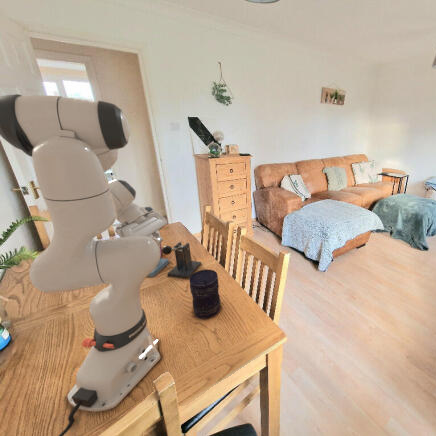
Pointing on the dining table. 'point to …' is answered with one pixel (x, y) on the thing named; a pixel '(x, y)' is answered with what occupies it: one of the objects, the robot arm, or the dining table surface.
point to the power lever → (171, 249)
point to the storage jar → (205, 293)
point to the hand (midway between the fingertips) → (160, 242)
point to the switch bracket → (184, 263)
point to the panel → (159, 267)
